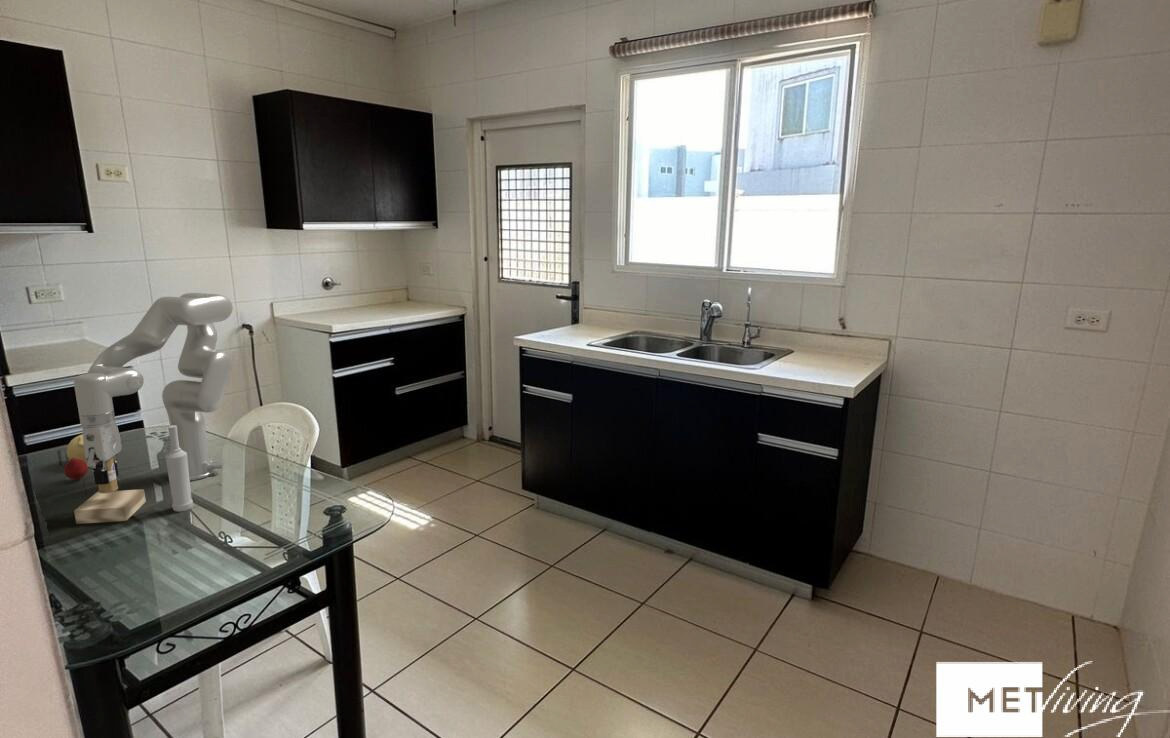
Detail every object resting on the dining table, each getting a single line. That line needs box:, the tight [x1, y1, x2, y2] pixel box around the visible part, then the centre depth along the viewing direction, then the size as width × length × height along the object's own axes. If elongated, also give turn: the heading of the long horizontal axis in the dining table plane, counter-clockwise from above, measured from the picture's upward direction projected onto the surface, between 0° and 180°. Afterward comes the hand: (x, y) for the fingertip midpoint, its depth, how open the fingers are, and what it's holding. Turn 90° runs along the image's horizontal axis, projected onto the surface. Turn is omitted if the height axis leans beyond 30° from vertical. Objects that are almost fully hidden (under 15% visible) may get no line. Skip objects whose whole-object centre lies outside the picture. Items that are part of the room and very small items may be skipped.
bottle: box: [164, 425, 194, 513], centre depth 177 cm, size 5×5×25 cm
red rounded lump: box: [63, 456, 89, 481], centre depth 195 cm, size 6×6×8 cm
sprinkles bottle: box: [96, 457, 119, 494], centre depth 173 cm, size 5×5×13 cm
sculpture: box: [66, 433, 88, 464], centre depth 208 cm, size 12×12×11 cm
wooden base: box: [73, 488, 147, 525], centre depth 176 cm, size 12×12×4 cm
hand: (107, 479), depth 174 cm, fingers closed on sprinkles bottle, 4 cm apart
